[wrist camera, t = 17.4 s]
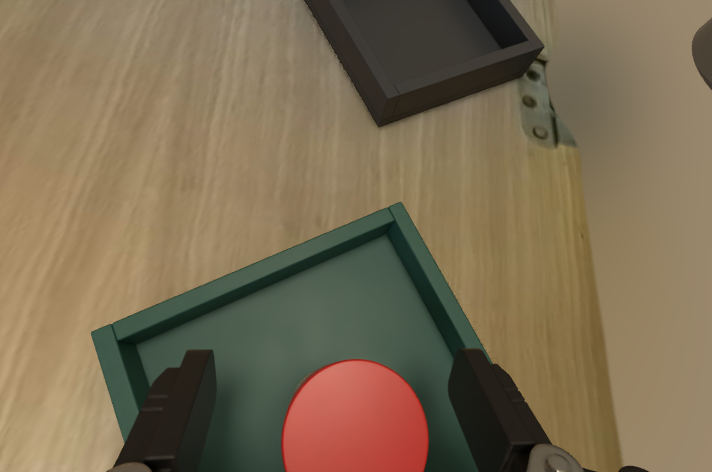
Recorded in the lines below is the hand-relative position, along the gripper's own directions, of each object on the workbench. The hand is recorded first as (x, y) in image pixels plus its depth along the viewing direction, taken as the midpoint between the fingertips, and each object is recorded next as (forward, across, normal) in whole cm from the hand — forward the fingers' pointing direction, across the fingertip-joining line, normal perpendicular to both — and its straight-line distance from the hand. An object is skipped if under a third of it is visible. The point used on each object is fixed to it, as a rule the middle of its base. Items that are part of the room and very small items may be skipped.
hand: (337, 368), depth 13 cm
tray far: (+20, -6, -11) cm, 23 cm away
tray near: (+3, 0, +5) cm, 6 cm away
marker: (+3, 0, +5) cm, 6 cm away
